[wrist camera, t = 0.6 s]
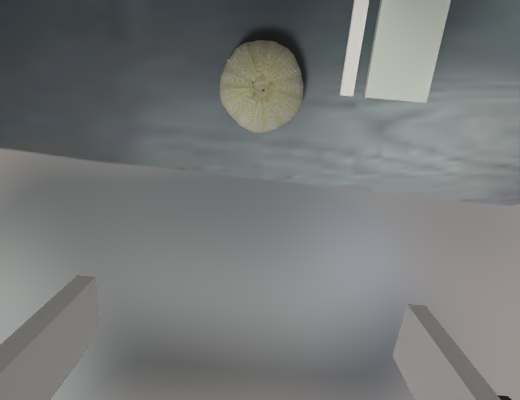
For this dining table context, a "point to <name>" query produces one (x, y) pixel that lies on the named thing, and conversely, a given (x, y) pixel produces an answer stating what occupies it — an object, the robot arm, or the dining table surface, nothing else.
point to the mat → (405, 49)
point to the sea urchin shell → (261, 86)
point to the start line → (354, 47)
